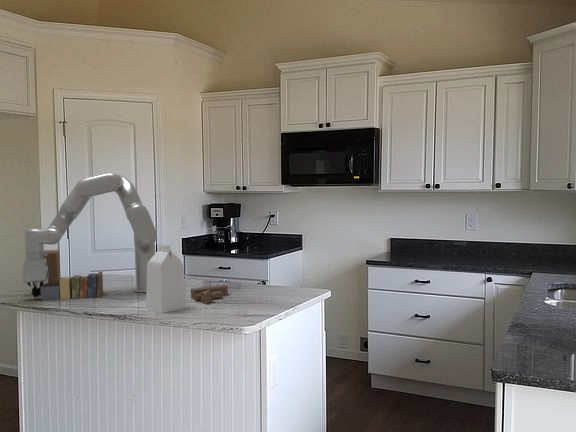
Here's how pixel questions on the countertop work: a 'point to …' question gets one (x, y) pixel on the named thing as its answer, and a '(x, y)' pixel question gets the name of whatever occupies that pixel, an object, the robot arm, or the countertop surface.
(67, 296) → the tan rectangular block
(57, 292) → the grey stone cube
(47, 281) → the robot arm
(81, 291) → the rack
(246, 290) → the countertop surface
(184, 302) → the milk
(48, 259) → the wooden block
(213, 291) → the wooden block set
